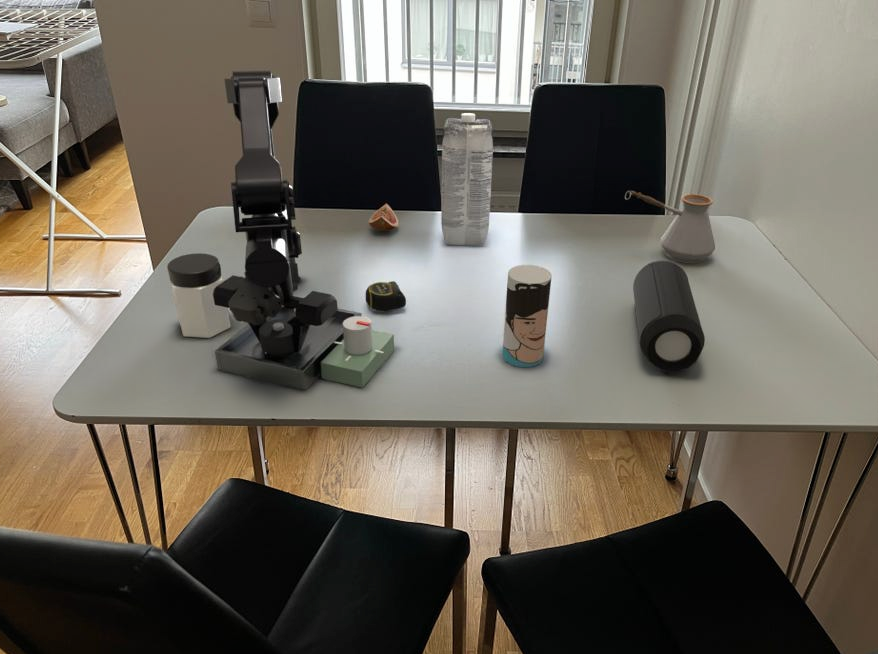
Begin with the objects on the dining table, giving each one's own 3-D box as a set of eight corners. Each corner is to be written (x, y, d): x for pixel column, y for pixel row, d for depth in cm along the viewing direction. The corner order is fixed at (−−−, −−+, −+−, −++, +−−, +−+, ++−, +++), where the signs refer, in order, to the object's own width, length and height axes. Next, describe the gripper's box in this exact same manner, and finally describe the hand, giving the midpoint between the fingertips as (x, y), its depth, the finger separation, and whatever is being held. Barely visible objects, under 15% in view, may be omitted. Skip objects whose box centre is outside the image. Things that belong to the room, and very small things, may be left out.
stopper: (254, 358, 111) (250, 330, 109) (275, 340, 116) (271, 313, 113) (288, 366, 110) (284, 337, 107) (307, 347, 115) (304, 319, 112)
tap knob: (339, 351, 111) (337, 325, 108) (352, 338, 114) (350, 312, 112) (365, 357, 109) (363, 330, 107) (377, 343, 113) (375, 317, 110)
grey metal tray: (217, 370, 111) (214, 351, 109) (284, 314, 126) (281, 297, 125) (305, 390, 107) (303, 371, 105) (362, 330, 122) (361, 312, 120)
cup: (508, 369, 113) (515, 285, 105) (497, 347, 119) (502, 266, 111) (548, 364, 115) (557, 281, 107) (535, 343, 120) (543, 263, 112)
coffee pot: (699, 244, 159) (713, 179, 151) (721, 266, 149) (738, 198, 141) (608, 247, 156) (617, 181, 148) (624, 269, 147) (636, 200, 139)
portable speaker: (699, 380, 112) (713, 325, 107) (636, 373, 113) (646, 319, 108) (681, 306, 133) (691, 257, 128) (628, 301, 134) (636, 253, 129)
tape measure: (407, 312, 128) (407, 294, 126) (370, 317, 126) (369, 298, 124) (398, 296, 134) (398, 278, 132) (362, 300, 132) (361, 282, 130)
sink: (225, 368, 111) (223, 357, 110) (285, 317, 126) (284, 307, 125) (303, 386, 107) (302, 375, 106) (356, 331, 122) (355, 321, 121)
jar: (234, 333, 120) (223, 269, 114) (184, 343, 117) (170, 278, 111) (225, 310, 127) (214, 248, 121) (177, 319, 124) (163, 256, 117)
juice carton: (488, 248, 154) (494, 122, 140) (440, 246, 154) (441, 120, 140) (487, 232, 162) (493, 111, 147) (442, 231, 162) (443, 109, 147)
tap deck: (317, 377, 110) (315, 360, 108) (352, 340, 119) (351, 324, 118) (367, 389, 107) (366, 371, 106) (399, 350, 117) (398, 334, 115)
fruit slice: (395, 238, 158) (394, 216, 155) (365, 236, 158) (364, 215, 155) (400, 224, 165) (400, 203, 162) (372, 222, 165) (371, 202, 162)
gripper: (180, 268, 100) (199, 360, 108) (296, 290, 95) (307, 385, 103) (227, 239, 109) (241, 327, 117) (335, 259, 104) (342, 349, 112)
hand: (281, 347), depth 112 cm, fingers closed on stopper, 6 cm apart
